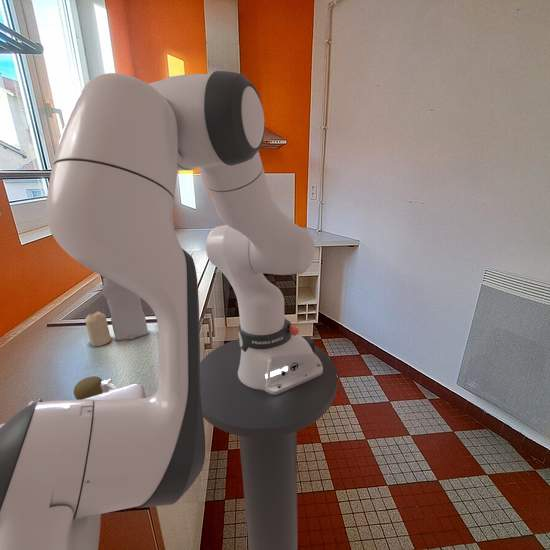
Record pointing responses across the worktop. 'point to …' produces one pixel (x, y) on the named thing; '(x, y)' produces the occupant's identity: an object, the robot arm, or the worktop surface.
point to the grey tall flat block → (124, 311)
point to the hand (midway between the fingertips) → (73, 392)
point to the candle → (97, 329)
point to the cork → (88, 388)
